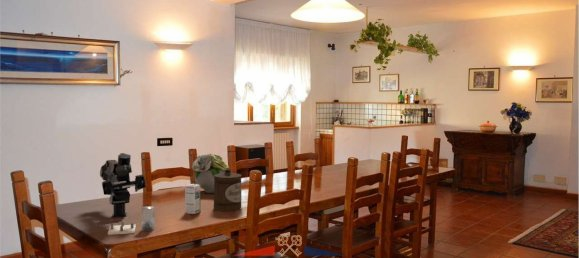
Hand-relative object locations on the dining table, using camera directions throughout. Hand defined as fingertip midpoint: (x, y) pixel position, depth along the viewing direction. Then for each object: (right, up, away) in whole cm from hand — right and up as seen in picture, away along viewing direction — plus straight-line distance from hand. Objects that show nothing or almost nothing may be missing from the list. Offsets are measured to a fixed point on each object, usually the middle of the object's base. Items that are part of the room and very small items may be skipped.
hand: (125, 193), depth 213 cm
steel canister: (+11, -16, -1) cm, 20 cm away
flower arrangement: (+25, -11, +87) cm, 91 cm away
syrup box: (+24, -15, +32) cm, 43 cm away
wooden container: (+41, -14, +43) cm, 61 cm away
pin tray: (0, -16, -3) cm, 17 cm away
